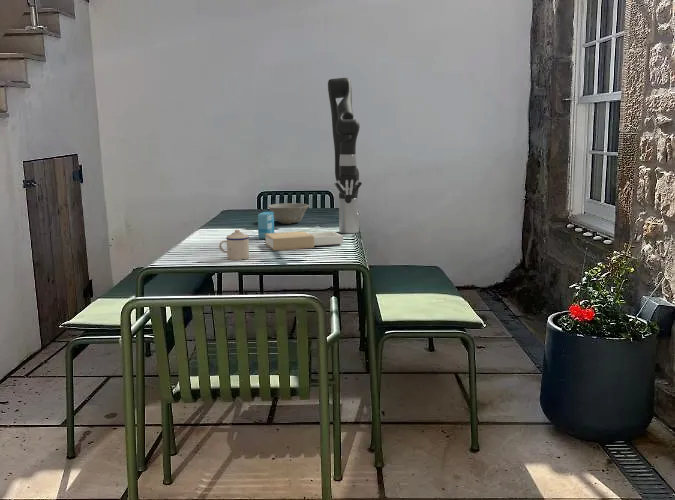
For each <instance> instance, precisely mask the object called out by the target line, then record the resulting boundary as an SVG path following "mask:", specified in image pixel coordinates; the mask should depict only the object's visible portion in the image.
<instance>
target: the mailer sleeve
mask: <svg viewBox="0 0 675 500" xmlns="http://www.w3.org/2000/svg"><path fill="white" fill-rule="evenodd" d="M308 233H309V232H307V231H303V230H302V231H288V232H274V233H268V234H265V239H264V240H265V246H267V247H268V248H270V249H271V250H273V251H283V250H286V251H287V250H298V249H300V250H301V249H312V248H315V246H314V236H312V235H310V234H308ZM266 236H268V237H270V238H271V239H273V248H272V247H270V246H269V245H268V244H266Z"/></svg>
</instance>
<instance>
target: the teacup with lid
mask: <svg viewBox="0 0 675 500" xmlns="http://www.w3.org/2000/svg"><path fill="white" fill-rule="evenodd" d="M249 238H250V236H249V235H248V234H245V233H243V232H242V231H241V230H240V229H235V230H234V232H232V233H231V234H229V235H227V236H226V237H225V239H226V240H222V241H220V243H219V244H218V245H219V246H218V247H219V250H220V251H221V252H222V253H224V254H227V255H226V256H227V259H228V260H229V259H230V261H243V260H242V259H245V260H248V259H249V258H250V244H249V243H250V241H249ZM223 243H226V250H224V249H223V248H222V244H223Z"/></svg>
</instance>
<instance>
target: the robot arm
mask: <svg viewBox="0 0 675 500" xmlns="http://www.w3.org/2000/svg"><path fill="white" fill-rule="evenodd" d="M352 89H353V88H352V83H351V80H350V78H348V77H339V78H338V77H336V78H330V79H328V81H327V91H328V98H329V99H328V100H329V106H330V110H331V111H330V114H331V126H332V127H331V128H332V137H333V138H332V139H333V147H334V176H335V181H336V182H334V186H335V187H336V189H337V190H338V191H339V193H338V222H339V223H338V225H339V228H338V229H339V234H355V233H356V234H357V233H360V213H358V196H359V195H358V194H359V189H360V187H361V186H362V184H363V183H362V182H361V181H360V171H359V169H358V167H357V155H356V154H357V152H356V151H357V150H356V149H357V140H358V136H359V132H360V128H361V125H360V122H359V121H358V120H357V119H354V111H353V105H352V104H353V93H352V91H353V90H352ZM337 99H341V100H340V102H339V103H337ZM342 187H343V188H342Z"/></svg>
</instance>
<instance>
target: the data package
mask: <svg viewBox="0 0 675 500" xmlns="http://www.w3.org/2000/svg"><path fill="white" fill-rule="evenodd" d="M257 229H258V230H257V231H258V233H257V234H258V236H257V237H258V239H259V240H265V234H268V233H275V218H274V213H273V212H271V211H263V212H260V213H258V215H257Z"/></svg>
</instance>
